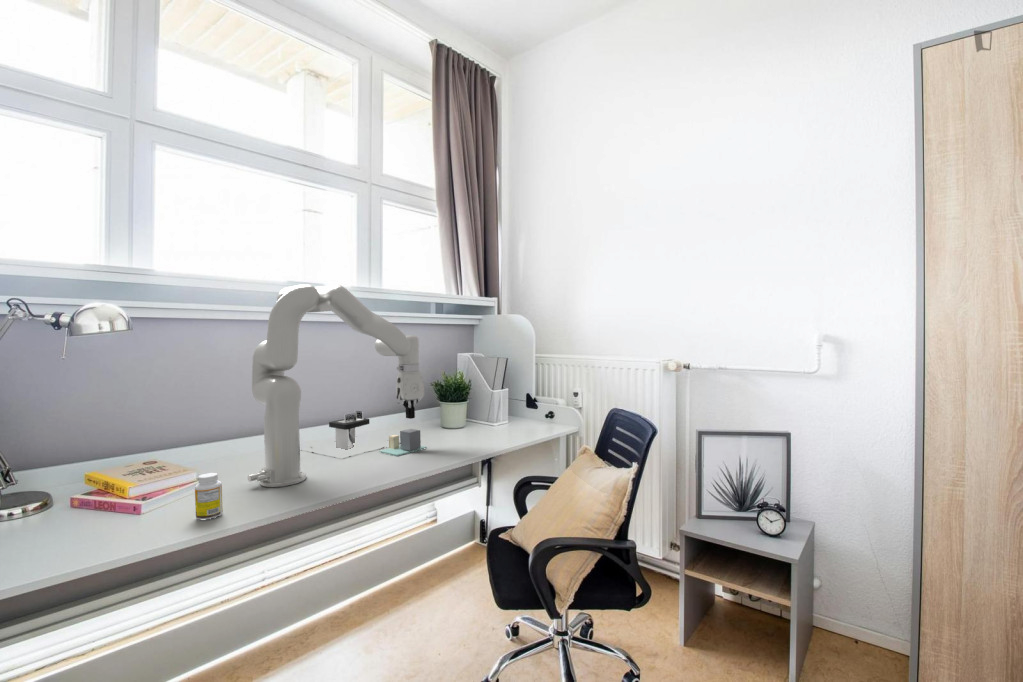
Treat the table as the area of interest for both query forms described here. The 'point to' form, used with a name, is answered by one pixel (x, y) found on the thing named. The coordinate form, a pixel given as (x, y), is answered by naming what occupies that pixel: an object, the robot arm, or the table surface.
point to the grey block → (410, 439)
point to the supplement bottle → (208, 496)
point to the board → (399, 451)
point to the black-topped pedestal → (348, 429)
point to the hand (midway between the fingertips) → (410, 417)
